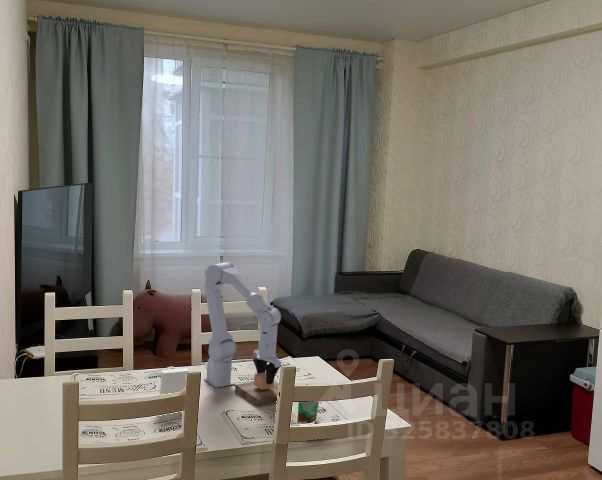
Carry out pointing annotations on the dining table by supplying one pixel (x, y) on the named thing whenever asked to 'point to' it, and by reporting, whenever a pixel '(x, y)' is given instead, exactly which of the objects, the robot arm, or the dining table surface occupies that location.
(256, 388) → the walnut base
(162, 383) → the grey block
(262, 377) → the terracotta block
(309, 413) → the food container
